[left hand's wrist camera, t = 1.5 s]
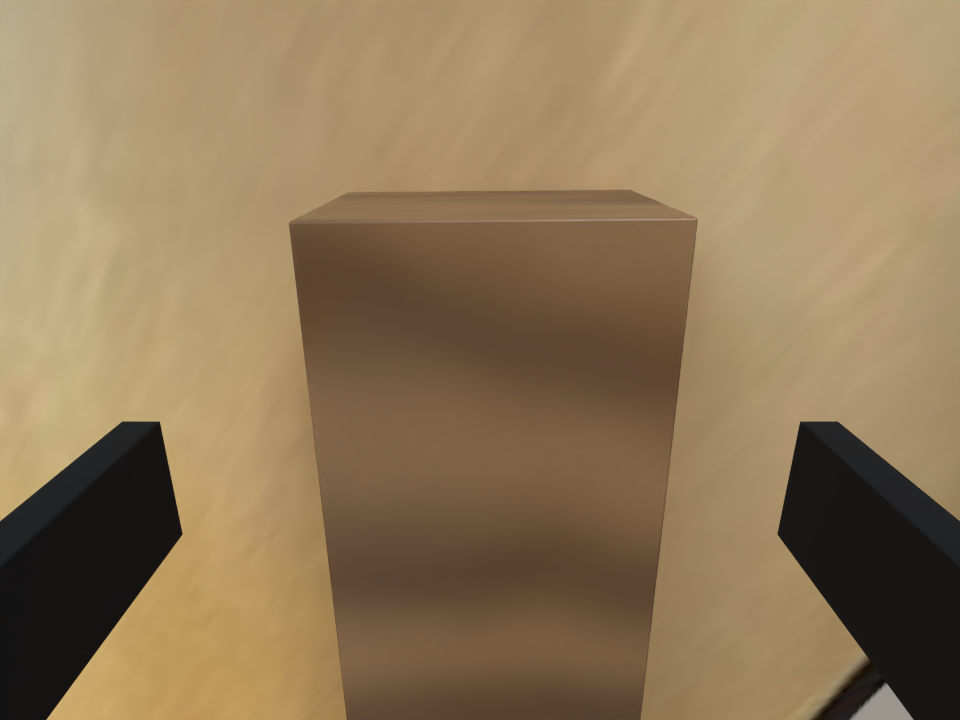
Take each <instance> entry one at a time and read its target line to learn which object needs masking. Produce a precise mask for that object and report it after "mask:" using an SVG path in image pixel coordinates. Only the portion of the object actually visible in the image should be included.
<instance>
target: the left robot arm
mask: <svg viewBox="0 0 960 720" xmlns="http://www.w3.org/2000/svg"><path fill="white" fill-rule="evenodd" d="M181 536H182V529H181V525H180V520H179V515H178V510H177V505H176V500H175V495H174V490H173V485H172V480H171V475H170V470H169V465H168V460H167V455H166V450H165V445H164V440H163V436H162V431H161V426H160V422H121V423H120V424H119V425H118V426H116V427H115V428H114V429H113V430H111V431H110V432H109V433H108V434H107V435H105V436H104V437H103V438H102V439H100V440H99V441H98V442H97V443H96V444H94V445H93V446H92V447H91V448H89V449H88V450H87V451H86V452H85V453H83V454H82V455H81V456H80V457H78V458H77V459H76V460H75V461H74V462H72V463H71V464H70V465H69V466H67V467H66V468H65V469H64V470H62V471H61V472H60V473H59V474H58V475H56V476H55V477H54V478H53V479H51V480H50V481H49V482H48V483H47V484H45V485H44V486H43V487H42V488H40V489H39V490H38V491H37V492H36V493H34V494H33V495H32V496H31V497H29V498H28V499H27V500H26V501H25V502H23V503H22V504H21V505H20V506H18V507H17V508H16V509H15V510H14V511H12V512H11V513H10V514H9V515H7V516H6V517H5V518H4V519H3V520H1V521H0V720H46V719H47V718H48V717H49V715H50V714H51V713H52V711H53V710H54V708H55V707H56V706H57V704H58V703H59V702H60V700H61V699H62V698H63V696H64V695H65V694H66V692H67V691H68V689H69V688H70V687H71V685H72V684H73V683H74V681H75V680H76V679H77V677H78V676H79V674H80V673H81V672H82V670H83V669H84V668H85V666H86V665H87V664H88V662H89V661H90V660H91V658H92V657H93V655H94V654H95V653H96V651H97V650H98V649H99V647H100V646H101V645H102V643H103V642H104V640H105V639H106V638H107V636H108V635H109V634H110V632H111V631H112V630H113V628H114V627H115V625H116V624H117V623H118V621H119V620H120V619H121V617H122V616H123V615H124V613H125V612H126V611H127V609H128V608H129V606H130V605H131V604H132V602H133V601H134V600H135V598H136V597H137V596H138V594H139V593H140V591H141V590H142V589H143V587H144V586H145V585H146V583H147V582H148V581H149V579H150V578H151V576H152V575H153V574H154V572H155V571H156V570H157V568H158V567H159V566H160V564H161V563H162V562H163V560H164V559H165V557H166V556H167V555H168V553H169V552H170V551H171V549H172V548H173V547H174V545H175V544H176V542H177V541H178V540H179V538H180V537H181ZM778 536H779V537H780V538H781V540H782V541H783V542H784V544H785V545H786V547H787V548H788V549H789V551H790V552H791V553H792V555H793V556H794V557H795V559H796V560H797V562H798V563H799V564H800V566H801V567H802V568H803V570H804V571H805V572H806V574H807V575H808V576H809V578H810V579H811V581H812V582H813V583H814V585H815V586H816V587H817V589H818V590H819V591H820V593H821V594H822V596H823V597H824V598H825V600H826V601H827V602H828V604H829V605H830V606H831V608H832V609H833V611H834V612H835V613H836V615H837V616H838V617H839V619H840V620H841V621H842V623H843V624H844V625H845V627H846V628H847V630H848V631H849V632H850V634H851V635H852V636H853V638H854V639H855V640H856V642H857V643H858V645H859V646H860V647H861V649H862V650H863V651H864V653H865V654H866V655H867V657H868V658H869V660H870V661H871V662H872V664H873V665H874V666H875V668H876V669H877V670H878V672H879V673H880V674H881V676H882V677H883V679H884V680H885V681H886V683H887V684H888V685H889V687H890V688H891V689H892V691H893V692H894V694H895V695H896V696H897V698H898V699H899V700H900V702H901V703H902V704H903V706H904V707H905V708H906V710H907V711H908V713H909V714H910V715H911V717H912V718H913V719H914V720H960V521H959V520H957V519H956V518H955V517H954V516H953V515H951V514H950V513H949V512H948V511H946V510H945V509H944V508H943V507H942V506H940V505H939V504H938V503H937V502H935V501H934V500H933V499H932V498H931V497H929V496H928V495H927V494H926V493H924V492H923V491H922V490H921V489H920V488H918V487H917V486H916V485H915V484H913V483H912V482H911V481H910V480H909V479H907V478H906V477H905V476H904V475H902V474H901V473H900V472H899V471H898V470H896V469H895V468H894V467H893V466H891V465H890V464H889V463H888V462H886V461H885V460H884V459H883V458H882V457H880V456H879V455H878V454H877V453H875V452H874V451H873V450H872V449H871V448H869V447H868V446H867V445H866V444H864V443H863V442H862V441H861V440H860V439H858V438H857V437H856V436H855V435H853V434H852V433H851V432H850V431H849V430H847V429H846V428H845V427H844V426H842V425H841V424H840V423H839V422H800V426H799V431H798V436H797V440H796V445H795V450H794V455H793V460H792V465H791V470H790V475H789V480H788V485H787V490H786V495H785V500H784V505H783V510H782V515H781V520H780V525H779V529H778Z"/></svg>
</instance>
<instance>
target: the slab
mask: <svg viewBox="0 0 960 720" xmlns="http://www.w3.org/2000/svg"><path fill="white" fill-rule="evenodd" d="M289 228H290V237H291V245H292V254H293V262H294V271H295V279H296V288H297V296H298V305H299V314H300V322H301V331H302V339H303V348H304V356H305V365H306V373H307V382H308V391H309V399H310V408H311V416H312V425H313V433H314V442H315V451H316V459H317V468H318V476H319V485H320V493H321V502H322V510H323V519H324V528H325V536H326V545H327V553H328V562H329V570H330V579H331V587H332V596H333V605H334V613H335V622H336V630H337V639H338V647H339V656H340V664H341V673H342V682H343V690H344V699H345V707H346V716H347V720H640V717H641V709H642V700H643V691H644V682H645V674H646V665H647V656H648V648H649V639H650V630H651V621H652V613H653V604H654V595H655V587H656V578H657V569H658V560H659V552H660V543H661V534H662V525H663V517H664V508H665V499H666V491H667V482H668V473H669V464H670V456H671V447H672V438H673V430H674V421H675V412H676V403H677V395H678V386H679V377H680V369H681V360H682V351H683V342H684V334H685V325H686V316H687V308H688V299H689V290H690V281H691V273H692V264H693V255H694V247H695V238H696V229H697V218H695V217H693V216H690V215H688V214H686V213H683V212H681V211H678V210H676V209H674V208H671V207H669V206H667V205H664V204H662V203H659V202H657V201H655V200H652V199H650V198H648V197H645V196H643V195H640V194H638V193H636V192H633V191H631V190H580V191H467V192H354V193H346V194H344V195H342V196H340V197H338V198H336V199H334V200H332V201H330V202H328V203H326V204H324V205H322V206H320V207H318V208H316V209H314V210H312V211H310V212H308V213H306V214H304V215H302V216H300V217H298V218H296V219H294V220H292V221H290V223H289Z"/></svg>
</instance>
